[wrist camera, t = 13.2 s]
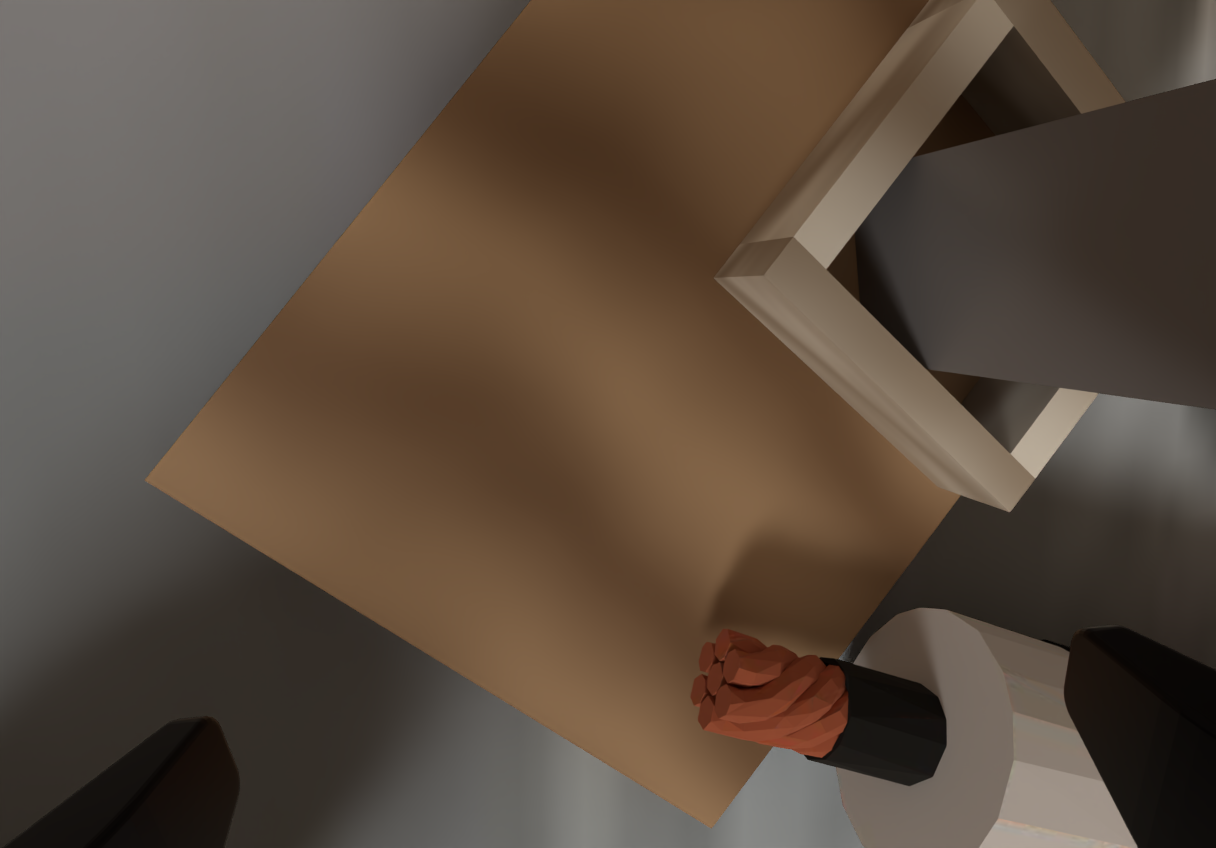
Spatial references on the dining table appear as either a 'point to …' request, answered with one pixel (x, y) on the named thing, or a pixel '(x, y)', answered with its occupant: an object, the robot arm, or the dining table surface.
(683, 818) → the dining table surface
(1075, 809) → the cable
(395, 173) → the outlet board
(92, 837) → the robot arm
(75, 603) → the dining table surface
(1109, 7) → the dining table surface
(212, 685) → the dining table surface
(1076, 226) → the charger
